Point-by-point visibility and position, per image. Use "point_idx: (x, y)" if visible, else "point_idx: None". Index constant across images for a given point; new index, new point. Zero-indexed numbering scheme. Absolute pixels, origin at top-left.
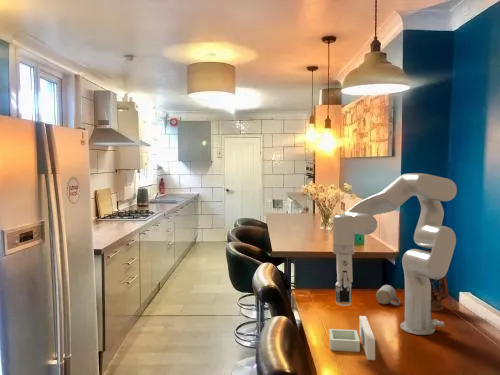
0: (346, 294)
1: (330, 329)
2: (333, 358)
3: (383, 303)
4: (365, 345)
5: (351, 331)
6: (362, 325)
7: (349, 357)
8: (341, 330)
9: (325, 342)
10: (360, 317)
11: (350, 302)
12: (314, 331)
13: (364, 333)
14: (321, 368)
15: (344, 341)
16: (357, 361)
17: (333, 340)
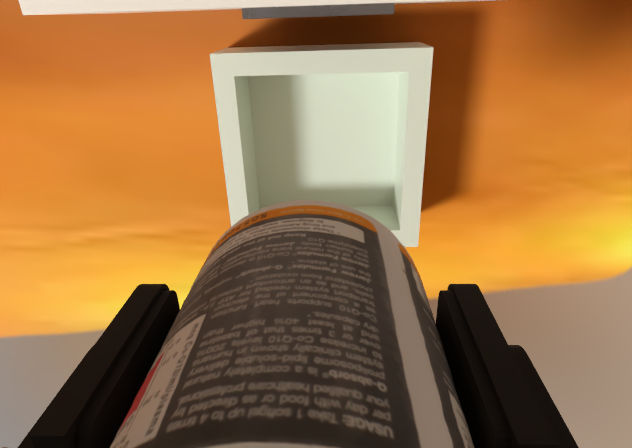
0: (559, 425)
1: None
2: (512, 207)
3: None
4: (450, 1)
5: (236, 95)
6: (261, 6)
7: (503, 117)
8: (243, 170)
9: None
10: (66, 8)
11: (378, 232)
12: None
13: (404, 2)
14: (622, 267)
15: (422, 159)
16: (561, 72)
17: (418, 228)
